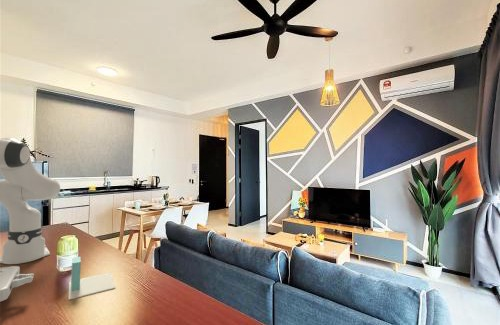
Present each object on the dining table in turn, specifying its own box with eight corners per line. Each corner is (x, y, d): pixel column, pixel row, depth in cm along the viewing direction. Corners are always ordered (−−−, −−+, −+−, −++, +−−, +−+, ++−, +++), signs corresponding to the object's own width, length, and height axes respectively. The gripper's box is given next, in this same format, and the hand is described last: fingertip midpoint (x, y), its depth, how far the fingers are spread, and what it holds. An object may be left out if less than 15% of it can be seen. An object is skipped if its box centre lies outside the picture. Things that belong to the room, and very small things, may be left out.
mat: (69, 282, 93) (69, 281, 93) (110, 273, 101) (110, 272, 101) (68, 300, 81) (68, 298, 81) (115, 288, 89) (115, 287, 89)
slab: (71, 284, 91) (71, 258, 91) (79, 282, 92) (80, 256, 92) (70, 291, 86) (71, 263, 86) (79, 289, 87) (80, 261, 88)
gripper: (-40, 293, 65) (28, 280, 74) (-17, 267, 82) (37, 258, 90) (-41, 316, 65) (27, 300, 74) (-18, 285, 82) (36, 275, 90)
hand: (32, 277), depth 82 cm, fingers closed
